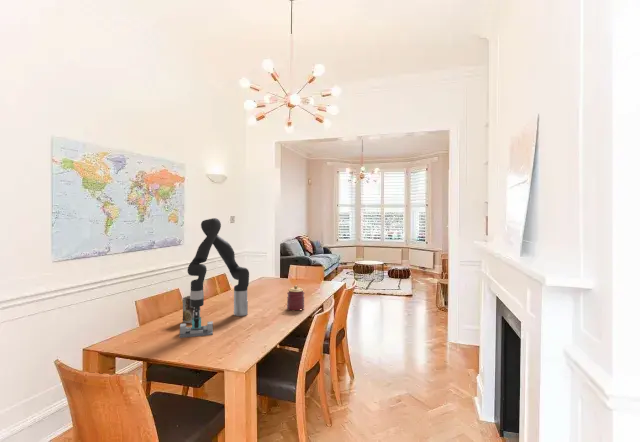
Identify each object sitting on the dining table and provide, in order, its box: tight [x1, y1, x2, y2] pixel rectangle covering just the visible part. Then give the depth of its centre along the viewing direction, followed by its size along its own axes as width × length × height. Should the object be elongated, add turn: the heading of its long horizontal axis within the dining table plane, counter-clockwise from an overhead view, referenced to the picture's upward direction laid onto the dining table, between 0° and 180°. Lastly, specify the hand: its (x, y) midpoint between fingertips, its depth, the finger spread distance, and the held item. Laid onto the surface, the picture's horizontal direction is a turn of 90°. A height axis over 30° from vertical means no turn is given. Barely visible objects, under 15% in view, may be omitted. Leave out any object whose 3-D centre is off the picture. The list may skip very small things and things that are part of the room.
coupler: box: [191, 316, 202, 329], centre depth 200 cm, size 5×5×5 cm
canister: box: [286, 285, 305, 311], centre depth 255 cm, size 13×13×18 cm
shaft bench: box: [179, 320, 214, 339], centre depth 200 cm, size 18×12×5 cm, turn 108°
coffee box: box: [182, 295, 195, 324], centre depth 221 cm, size 9×6×16 cm
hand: (196, 326), depth 201 cm, fingers closed on coupler, 5 cm apart
